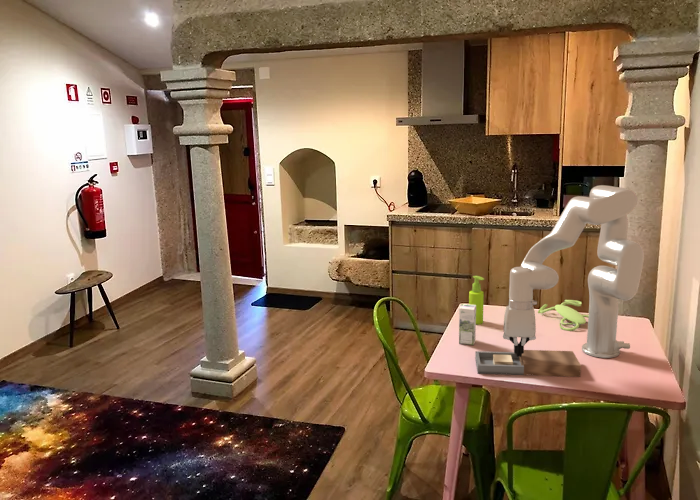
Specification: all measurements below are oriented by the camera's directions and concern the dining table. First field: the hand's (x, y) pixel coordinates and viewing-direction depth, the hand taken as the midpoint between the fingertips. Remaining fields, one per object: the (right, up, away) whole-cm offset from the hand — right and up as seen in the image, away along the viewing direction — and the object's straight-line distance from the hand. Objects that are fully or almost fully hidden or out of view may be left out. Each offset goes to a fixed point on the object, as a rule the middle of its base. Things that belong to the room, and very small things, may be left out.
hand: (518, 355), depth 199 cm
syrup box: (-13, 0, +25) cm, 28 cm away
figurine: (+34, +6, +46) cm, 58 cm away
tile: (-5, -1, +1) cm, 5 cm away
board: (+10, -4, 0) cm, 11 cm away
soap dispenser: (-4, +5, +45) cm, 46 cm away
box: (-6, -4, +2) cm, 8 cm away
